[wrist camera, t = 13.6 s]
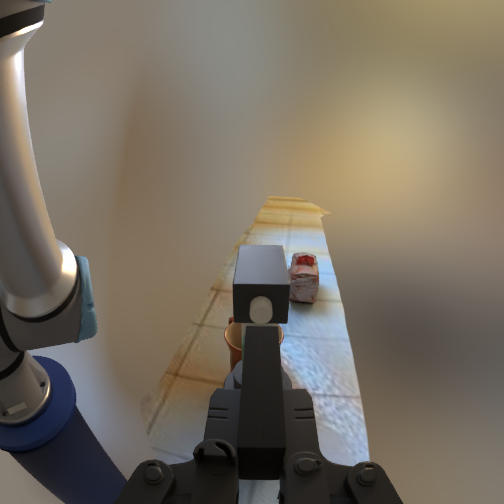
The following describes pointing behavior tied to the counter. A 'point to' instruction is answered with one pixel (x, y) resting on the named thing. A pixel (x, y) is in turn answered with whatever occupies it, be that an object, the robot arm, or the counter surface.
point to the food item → (303, 278)
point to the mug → (239, 341)
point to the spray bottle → (259, 296)
